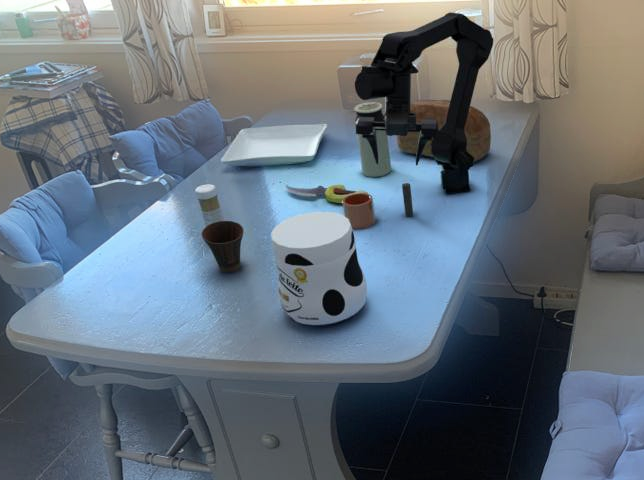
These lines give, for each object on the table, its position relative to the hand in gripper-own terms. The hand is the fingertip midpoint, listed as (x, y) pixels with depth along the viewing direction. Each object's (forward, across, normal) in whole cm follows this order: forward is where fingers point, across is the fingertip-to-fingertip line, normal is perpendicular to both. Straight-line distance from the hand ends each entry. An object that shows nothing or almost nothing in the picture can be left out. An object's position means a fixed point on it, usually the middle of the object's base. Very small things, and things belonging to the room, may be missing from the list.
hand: (397, 164), depth 178 cm
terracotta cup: (+14, -9, 0) cm, 17 cm away
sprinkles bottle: (+19, -42, -4) cm, 46 cm away
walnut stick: (+13, +3, +1) cm, 13 cm away
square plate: (+12, -37, +51) cm, 64 cm away
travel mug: (+11, -6, +30) cm, 32 cm away
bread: (+7, +12, +40) cm, 42 cm away
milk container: (+20, -13, -39) cm, 46 cm away
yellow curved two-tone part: (+14, -19, +16) cm, 29 cm away
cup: (+20, -36, -19) cm, 45 cm away
